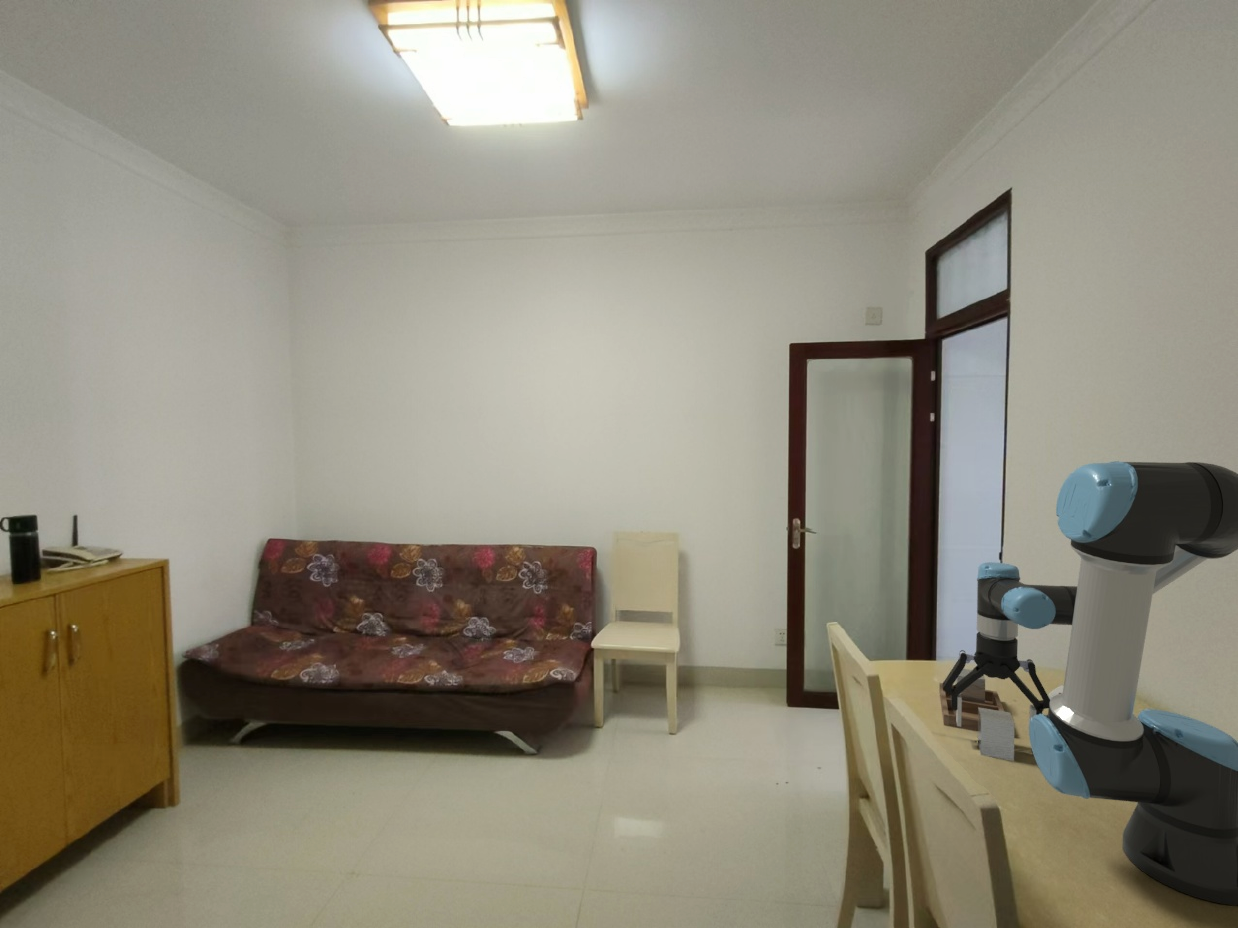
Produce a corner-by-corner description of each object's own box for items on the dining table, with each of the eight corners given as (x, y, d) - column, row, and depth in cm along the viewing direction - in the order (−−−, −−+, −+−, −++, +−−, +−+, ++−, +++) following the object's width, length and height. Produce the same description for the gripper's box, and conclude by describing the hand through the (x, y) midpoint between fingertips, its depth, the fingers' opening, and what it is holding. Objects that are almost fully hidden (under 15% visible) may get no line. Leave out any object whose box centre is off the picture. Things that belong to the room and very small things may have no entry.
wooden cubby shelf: (1009, 741, 132) (1009, 726, 131) (943, 729, 137) (943, 714, 137) (996, 704, 150) (996, 691, 150) (939, 695, 156) (939, 682, 156)
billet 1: (984, 711, 144) (985, 679, 144) (956, 706, 147) (957, 675, 147) (982, 702, 150) (982, 671, 149) (955, 697, 152) (955, 667, 152)
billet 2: (1013, 761, 123) (1014, 723, 123) (980, 754, 126) (981, 718, 126) (1009, 748, 129) (1009, 712, 128) (977, 742, 131) (978, 707, 131)
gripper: (1063, 637, 125) (1060, 735, 125) (931, 622, 136) (929, 711, 136) (1072, 649, 118) (1069, 751, 119) (932, 631, 129) (930, 725, 130)
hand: (994, 730), depth 128 cm, fingers open, 13 cm apart
